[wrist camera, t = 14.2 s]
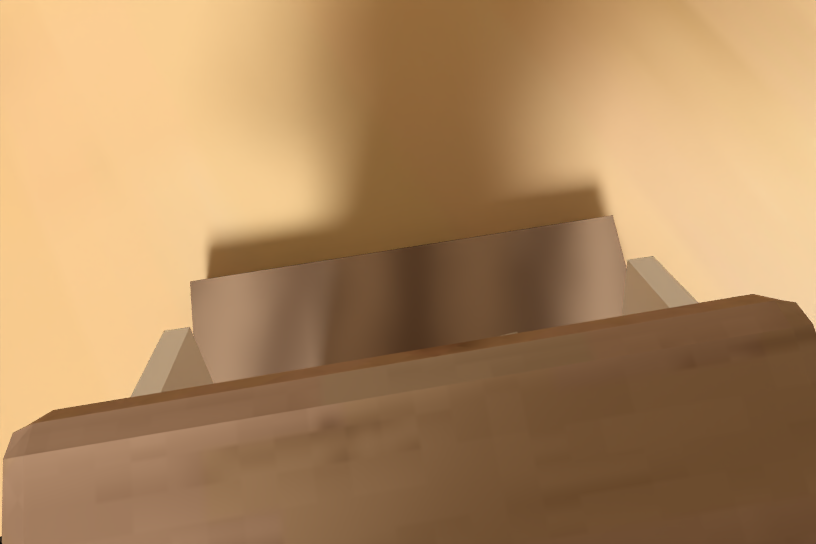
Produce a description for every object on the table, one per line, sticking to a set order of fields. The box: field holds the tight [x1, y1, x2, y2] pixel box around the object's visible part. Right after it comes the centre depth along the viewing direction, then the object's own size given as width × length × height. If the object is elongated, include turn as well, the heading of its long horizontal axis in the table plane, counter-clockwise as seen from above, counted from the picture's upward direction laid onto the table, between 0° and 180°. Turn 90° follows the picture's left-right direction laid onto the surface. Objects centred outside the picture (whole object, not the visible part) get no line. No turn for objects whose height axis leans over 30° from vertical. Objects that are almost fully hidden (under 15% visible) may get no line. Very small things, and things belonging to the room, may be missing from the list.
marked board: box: [190, 215, 627, 383], centre depth 26 cm, size 22×18×2 cm
